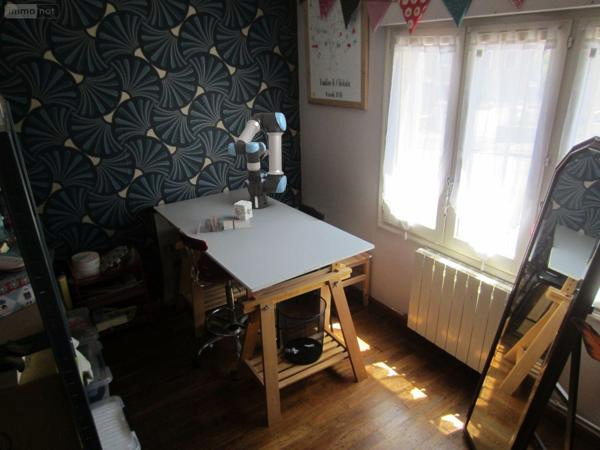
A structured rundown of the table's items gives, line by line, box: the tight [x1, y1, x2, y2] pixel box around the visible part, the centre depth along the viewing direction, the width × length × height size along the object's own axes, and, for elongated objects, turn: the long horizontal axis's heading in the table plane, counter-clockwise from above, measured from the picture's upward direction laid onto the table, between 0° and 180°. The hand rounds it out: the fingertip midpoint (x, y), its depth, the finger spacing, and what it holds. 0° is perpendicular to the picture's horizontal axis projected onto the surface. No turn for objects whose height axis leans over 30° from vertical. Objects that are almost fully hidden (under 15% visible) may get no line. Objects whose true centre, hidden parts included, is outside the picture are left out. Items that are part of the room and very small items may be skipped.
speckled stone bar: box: [223, 218, 251, 231], centre depth 256 cm, size 16×4×4 cm, turn 99°
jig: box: [204, 214, 224, 233], centre depth 255 cm, size 32×9×9 cm, turn 99°
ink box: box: [233, 199, 254, 220], centre depth 271 cm, size 9×9×12 cm
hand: (256, 206), depth 254 cm, fingers closed
